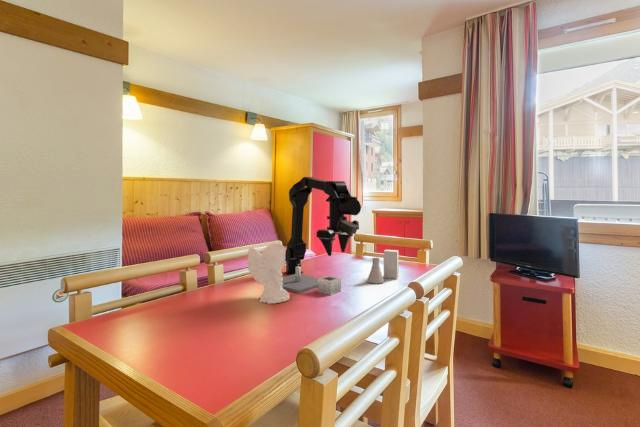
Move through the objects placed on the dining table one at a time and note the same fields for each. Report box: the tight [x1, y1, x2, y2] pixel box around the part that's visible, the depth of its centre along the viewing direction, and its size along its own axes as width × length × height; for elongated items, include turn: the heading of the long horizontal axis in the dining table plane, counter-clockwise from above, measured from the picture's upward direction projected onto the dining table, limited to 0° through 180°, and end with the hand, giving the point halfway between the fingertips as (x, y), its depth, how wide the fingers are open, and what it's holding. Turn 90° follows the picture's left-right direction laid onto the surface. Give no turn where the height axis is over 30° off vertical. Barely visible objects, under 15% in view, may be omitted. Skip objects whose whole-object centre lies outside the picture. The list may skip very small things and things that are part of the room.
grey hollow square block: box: [316, 275, 342, 296], centre depth 127 cm, size 6×6×5 cm
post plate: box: [282, 266, 320, 294], centre depth 137 cm, size 18×18×7 cm
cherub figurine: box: [246, 241, 290, 305], centre depth 118 cm, size 13×12×20 cm
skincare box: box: [383, 249, 400, 280], centre depth 147 cm, size 6×4×12 cm
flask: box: [366, 257, 385, 284], centre depth 141 cm, size 7×7×10 cm
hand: (336, 253), depth 130 cm, fingers open, 9 cm apart
